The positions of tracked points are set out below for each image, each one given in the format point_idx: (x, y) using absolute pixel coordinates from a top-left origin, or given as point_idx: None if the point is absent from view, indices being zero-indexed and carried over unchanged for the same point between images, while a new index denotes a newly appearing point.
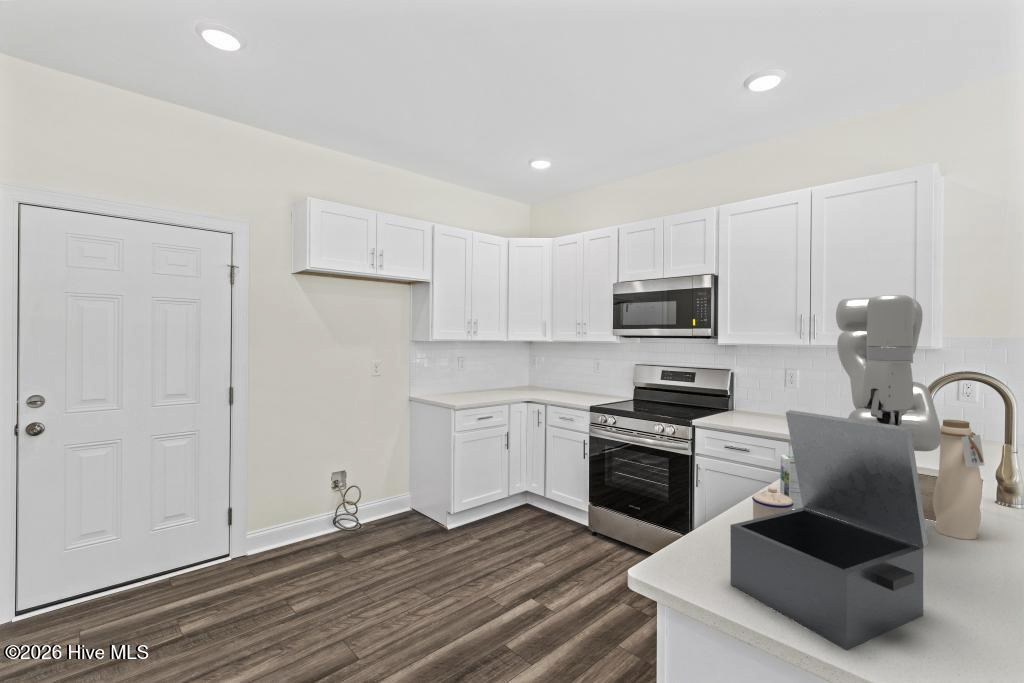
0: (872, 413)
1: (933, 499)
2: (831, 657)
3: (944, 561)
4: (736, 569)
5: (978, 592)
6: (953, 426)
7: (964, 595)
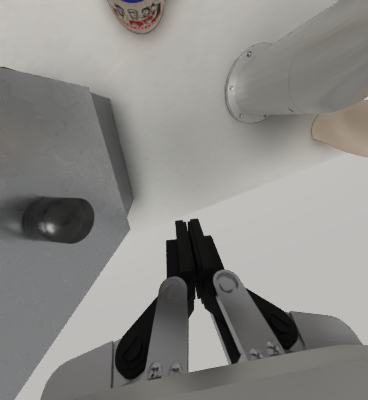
0: (48, 396)
1: (366, 104)
2: None
3: (240, 157)
4: None
5: (201, 193)
6: None
7: (188, 193)
